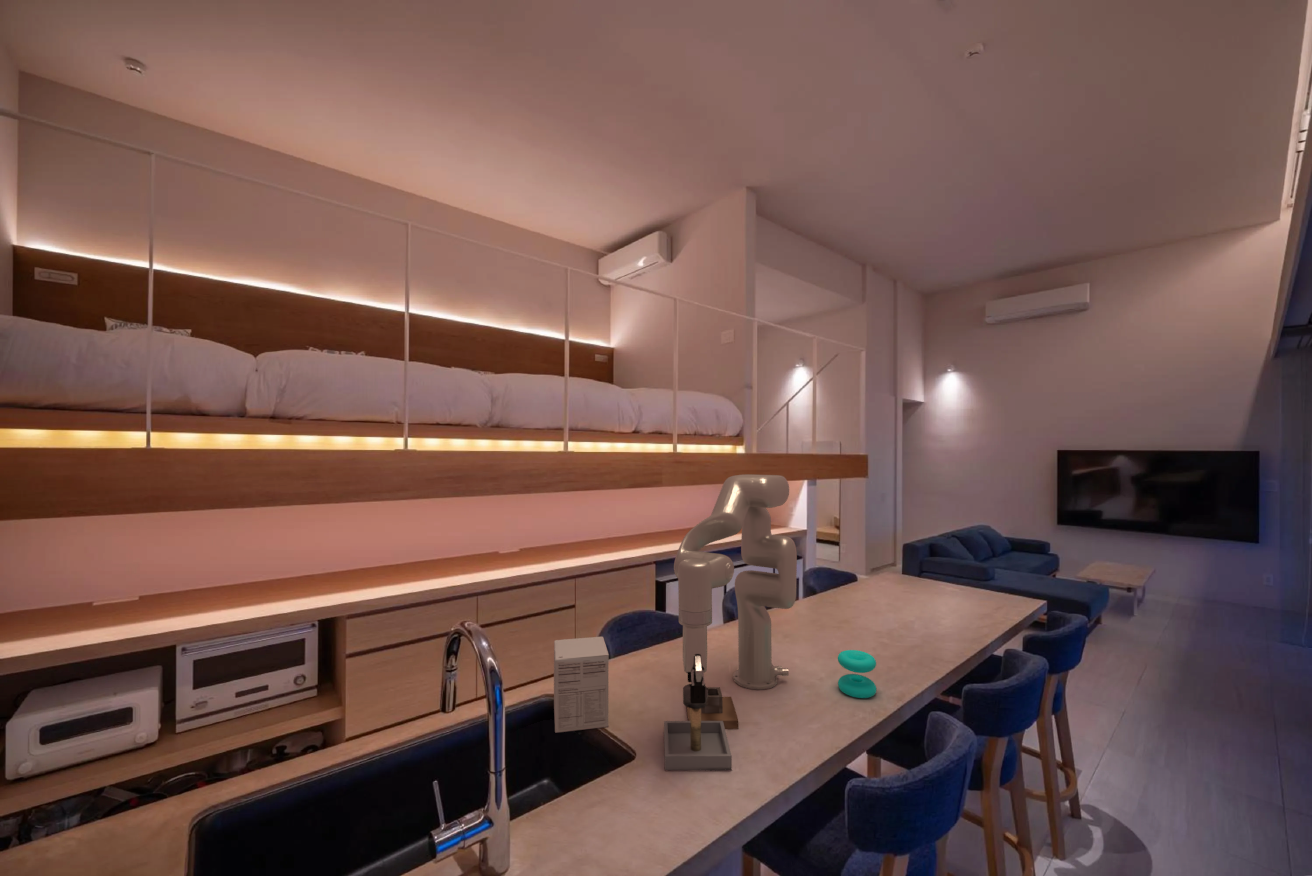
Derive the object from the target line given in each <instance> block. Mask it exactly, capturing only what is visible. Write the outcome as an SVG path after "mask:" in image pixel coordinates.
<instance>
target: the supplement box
mask: <svg viewBox="0 0 1312 876" xmlns="http://www.w3.org/2000/svg"><path fill="white" fill-rule="evenodd" d="M553 645H554V646H553V648H554V649H553V709H554V710H553V713H554V715H553V716H554V732H555V733H557V734H558V733H564V732H565V733H566V732H575V731H582V730H583V731H584V730H590V729H598V728H599V729H600V728H608V727H609V661H610V660H609V657H610V654H609V651H608V648H607V645H606V642H605V639H604V636H594V637H593V636H591V637H581V638H580V637H578V638H568V639H567V638H566V639H554V641H553Z"/></svg>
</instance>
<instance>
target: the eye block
mask: <svg viewBox="0 0 1312 876" xmlns="http://www.w3.org/2000/svg"><path fill="white" fill-rule="evenodd" d="M706 687H707V688H708V705H707V706H706V707H704V708H701V721H723V723H724V727H725V730H739V725H740V724H739V723H740V722H739V718H738V715H737V712H736V711H737V710H736V708H735V705H734V701H733V698H732V696H723V694H722V689H721V687H715V686H713V687H711V686H706ZM685 707H686V708H685V709H686V717H687V721H690V708H689V707H687V706H685Z"/></svg>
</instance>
